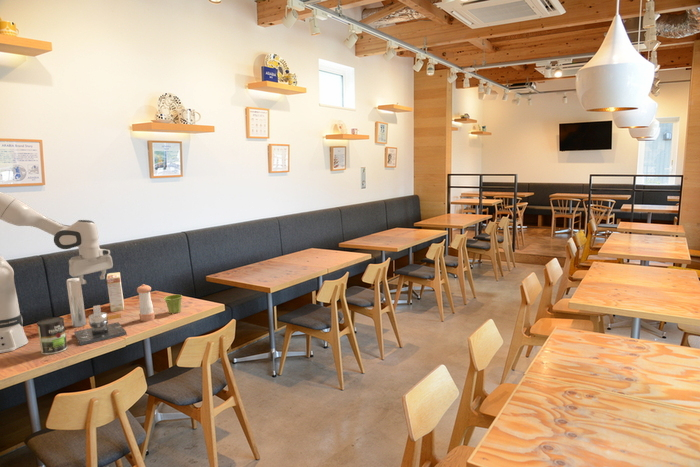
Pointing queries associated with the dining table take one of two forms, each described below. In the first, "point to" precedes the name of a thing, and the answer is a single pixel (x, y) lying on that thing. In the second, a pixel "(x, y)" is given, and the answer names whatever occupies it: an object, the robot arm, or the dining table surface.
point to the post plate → (99, 333)
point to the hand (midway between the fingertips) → (93, 281)
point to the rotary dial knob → (100, 317)
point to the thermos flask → (76, 302)
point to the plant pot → (173, 303)
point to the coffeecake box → (115, 291)
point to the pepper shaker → (145, 303)
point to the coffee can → (52, 335)
